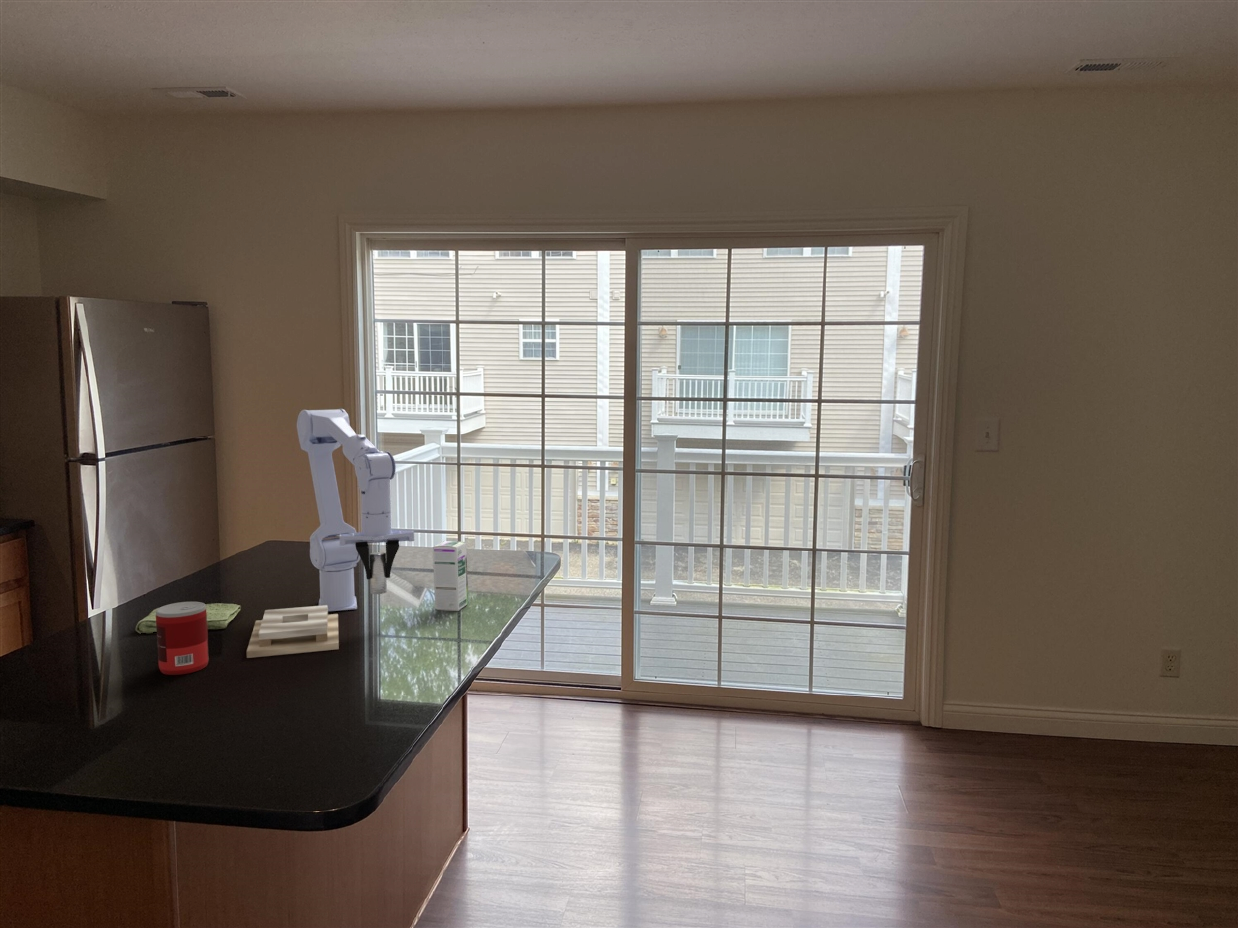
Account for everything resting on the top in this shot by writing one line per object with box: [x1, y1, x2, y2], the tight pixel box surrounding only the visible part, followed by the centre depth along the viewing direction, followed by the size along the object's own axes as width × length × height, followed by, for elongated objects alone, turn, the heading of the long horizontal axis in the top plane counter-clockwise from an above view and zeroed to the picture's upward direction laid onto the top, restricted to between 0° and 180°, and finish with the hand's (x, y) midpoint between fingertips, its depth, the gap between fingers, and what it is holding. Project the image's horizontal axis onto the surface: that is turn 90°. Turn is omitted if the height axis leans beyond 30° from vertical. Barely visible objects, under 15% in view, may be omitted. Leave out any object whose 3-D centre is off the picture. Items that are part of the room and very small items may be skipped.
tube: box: [369, 551, 388, 595], centre depth 172 cm, size 3×3×8 cm
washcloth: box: [135, 602, 242, 634], centre depth 175 cm, size 13×18×3 cm
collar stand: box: [246, 605, 340, 659], centre depth 166 cm, size 20×16×4 cm
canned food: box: [156, 601, 210, 676], centre depth 149 cm, size 8×8×11 cm
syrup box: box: [432, 540, 469, 612], centre depth 187 cm, size 6×6×14 cm
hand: (378, 577), depth 172 cm, fingers closed on tube, 3 cm apart
